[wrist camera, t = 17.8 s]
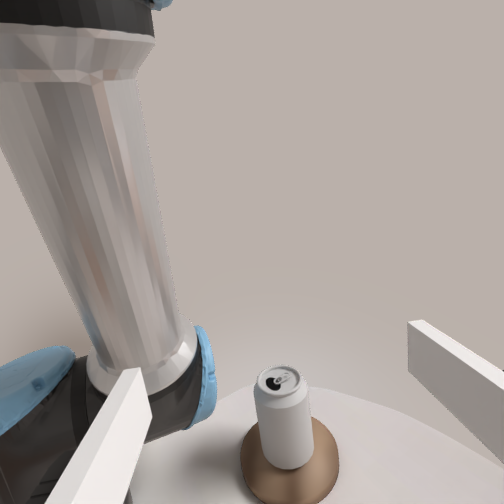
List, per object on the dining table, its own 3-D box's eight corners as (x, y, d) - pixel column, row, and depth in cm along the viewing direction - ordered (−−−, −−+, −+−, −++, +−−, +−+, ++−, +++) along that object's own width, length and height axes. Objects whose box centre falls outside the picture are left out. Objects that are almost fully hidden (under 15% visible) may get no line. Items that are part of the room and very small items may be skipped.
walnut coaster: (245, 521, 34) (243, 511, 34) (239, 427, 48) (238, 419, 47) (356, 498, 35) (356, 488, 34) (320, 412, 48) (319, 405, 48)
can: (255, 440, 43) (244, 371, 41) (297, 421, 45) (290, 354, 43) (276, 485, 36) (265, 405, 34) (325, 459, 39) (318, 383, 36)
